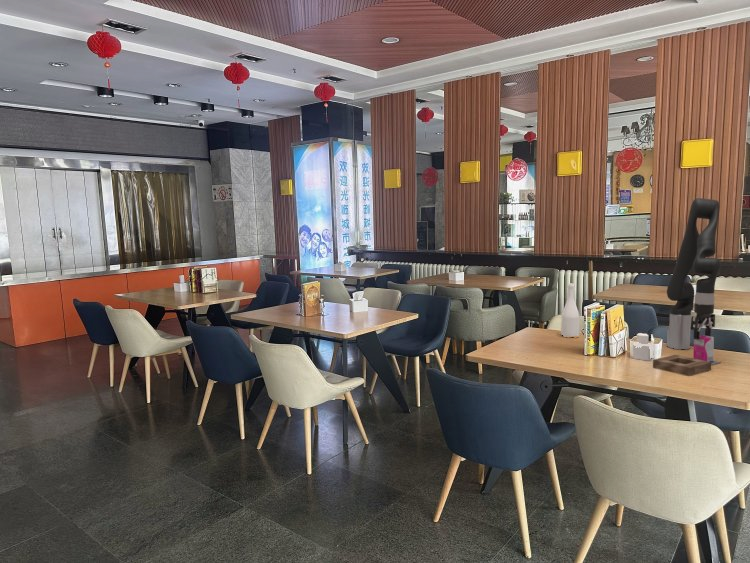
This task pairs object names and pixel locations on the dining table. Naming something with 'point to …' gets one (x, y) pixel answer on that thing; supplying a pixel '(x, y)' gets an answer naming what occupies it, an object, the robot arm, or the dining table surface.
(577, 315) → the wine bottle
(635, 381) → the dining table surface
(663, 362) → the frame
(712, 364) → the mat
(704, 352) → the supplement box
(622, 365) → the dining table surface
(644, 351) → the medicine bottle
